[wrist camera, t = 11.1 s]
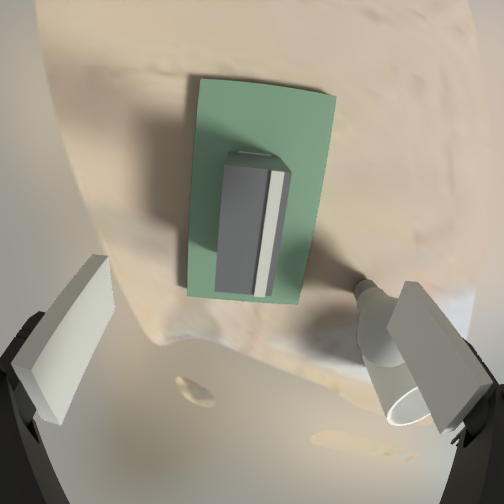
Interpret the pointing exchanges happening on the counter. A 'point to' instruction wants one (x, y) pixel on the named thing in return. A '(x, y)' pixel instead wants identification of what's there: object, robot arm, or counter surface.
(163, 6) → the counter surface
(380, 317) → the lightbulb
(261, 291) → the block
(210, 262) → the board
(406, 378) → the cup
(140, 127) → the counter surface
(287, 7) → the counter surface
